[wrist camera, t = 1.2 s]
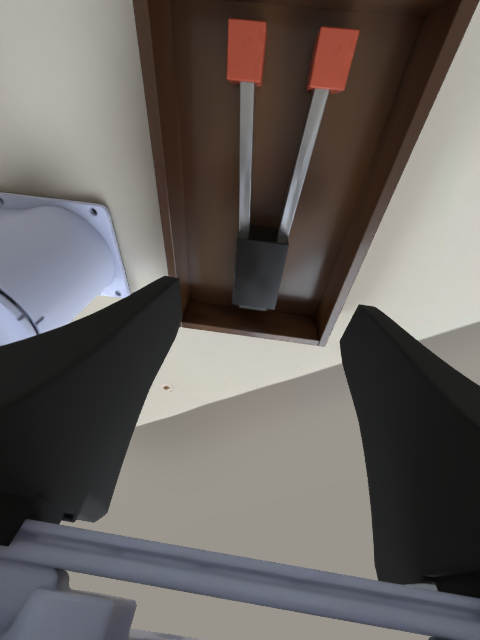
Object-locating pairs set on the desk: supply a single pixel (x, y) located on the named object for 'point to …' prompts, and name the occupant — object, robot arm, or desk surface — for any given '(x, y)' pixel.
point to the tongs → (324, 77)
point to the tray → (285, 144)
